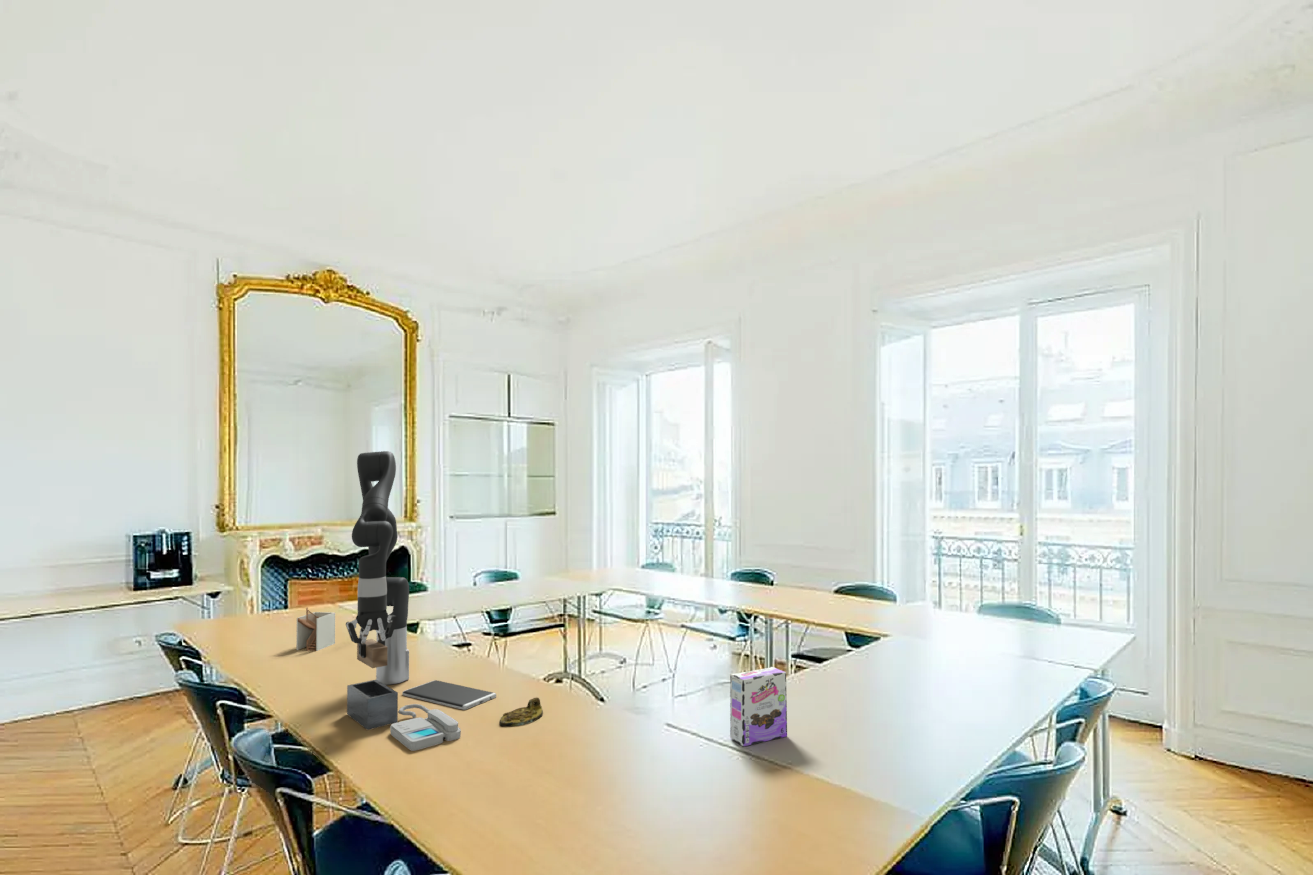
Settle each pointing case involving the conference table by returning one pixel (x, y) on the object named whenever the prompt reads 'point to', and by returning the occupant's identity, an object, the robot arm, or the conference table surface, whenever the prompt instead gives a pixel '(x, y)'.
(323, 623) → the staircase
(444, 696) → the smartphone
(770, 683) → the candy box
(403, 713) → the intercom
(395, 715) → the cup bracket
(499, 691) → the conference table surface
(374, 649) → the brown rectangular block
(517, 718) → the seal
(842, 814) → the conference table surface
